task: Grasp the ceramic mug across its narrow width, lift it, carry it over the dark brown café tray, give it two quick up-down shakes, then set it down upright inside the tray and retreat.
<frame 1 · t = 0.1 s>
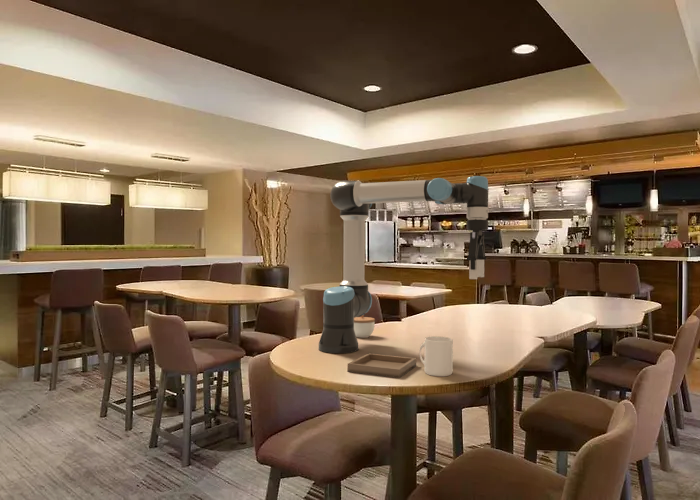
hand: (476, 278, 182), 28 cm above the table, fingers open, 13 cm apart
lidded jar: (362, 336, 219), on the table
mug: (434, 372, 156), on the table
tray: (382, 368, 160), on the table
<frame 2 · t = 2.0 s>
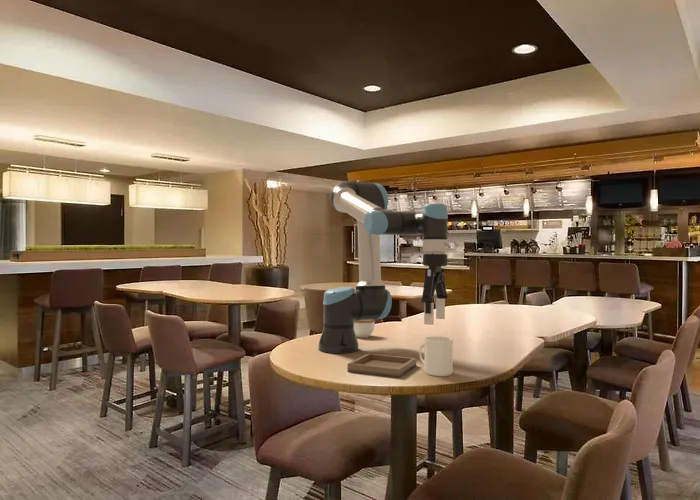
hand: (434, 321, 156), 16 cm above the table, fingers open, 13 cm apart
nothing on the table moved.
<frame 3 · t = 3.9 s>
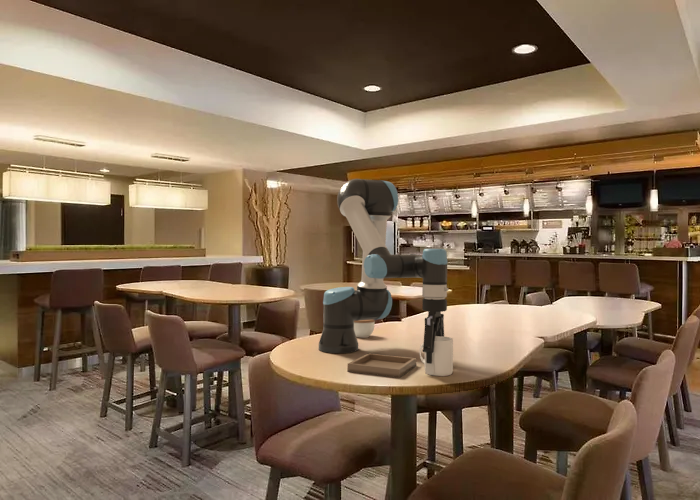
hand: (434, 370, 156), 1 cm above the table, fingers open, 9 cm apart
mug: (434, 372, 157), on the table, touching gripper
everything else where it was.
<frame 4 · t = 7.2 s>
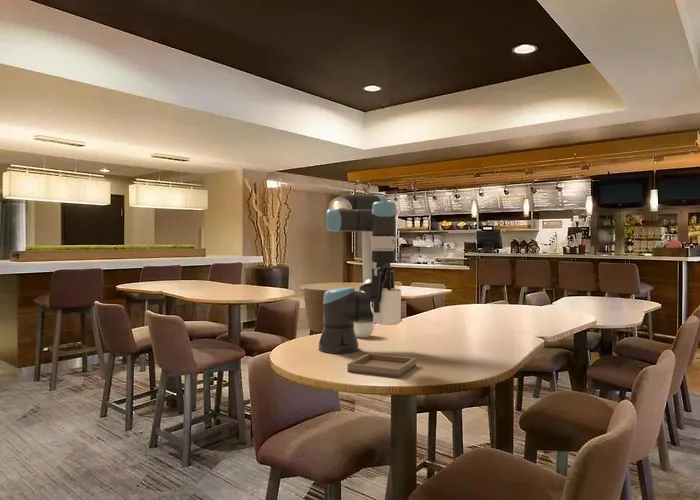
hand: (382, 320, 161), 15 cm above the table, fingers closed on mug, 9 cm apart
mug: (383, 322, 162), point 15 cm above the table, touching gripper
everything else where it was.
when the fingers open (3 cm above the table, at t = 10.1 s): mug drops 1 cm, resting on tray.
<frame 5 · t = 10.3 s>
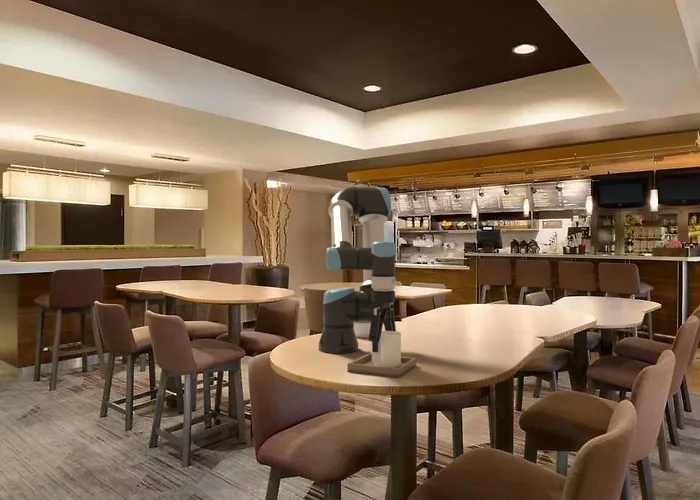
hand: (382, 358, 160), 3 cm above the table, fingers open, 11 cm apart
mug: (383, 366, 161), point 1 cm above the table, touching tray
everything else where it was.
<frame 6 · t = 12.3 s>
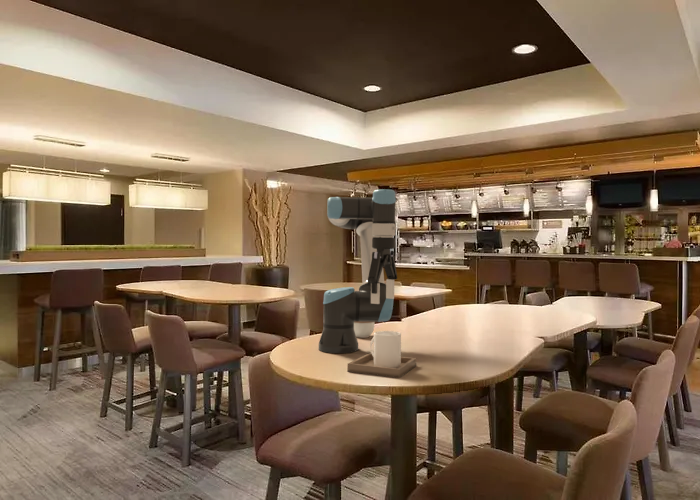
hand: (382, 301, 166), 21 cm above the table, fingers open, 13 cm apart
nothing on the table moved.
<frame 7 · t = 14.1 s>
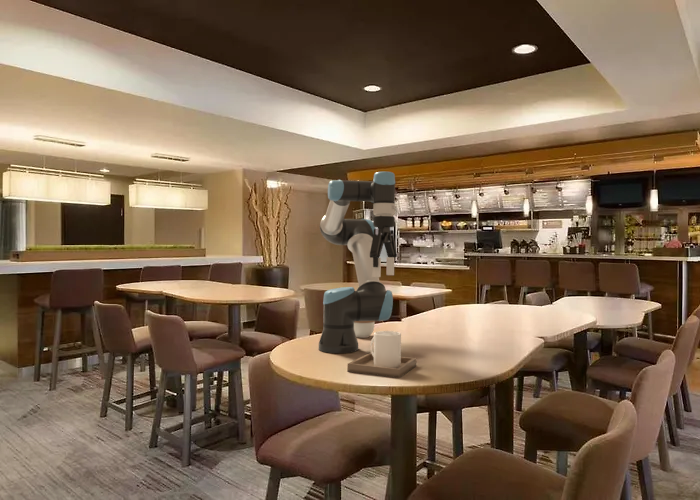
hand: (383, 276, 177), 29 cm above the table, fingers open, 13 cm apart
nothing on the table moved.
at the end: mug inside the target area on the tray (0.8 cm from its centre), point 0.6 cm above the tray's base; mug tilted 0°; the gripper is holding nothing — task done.
